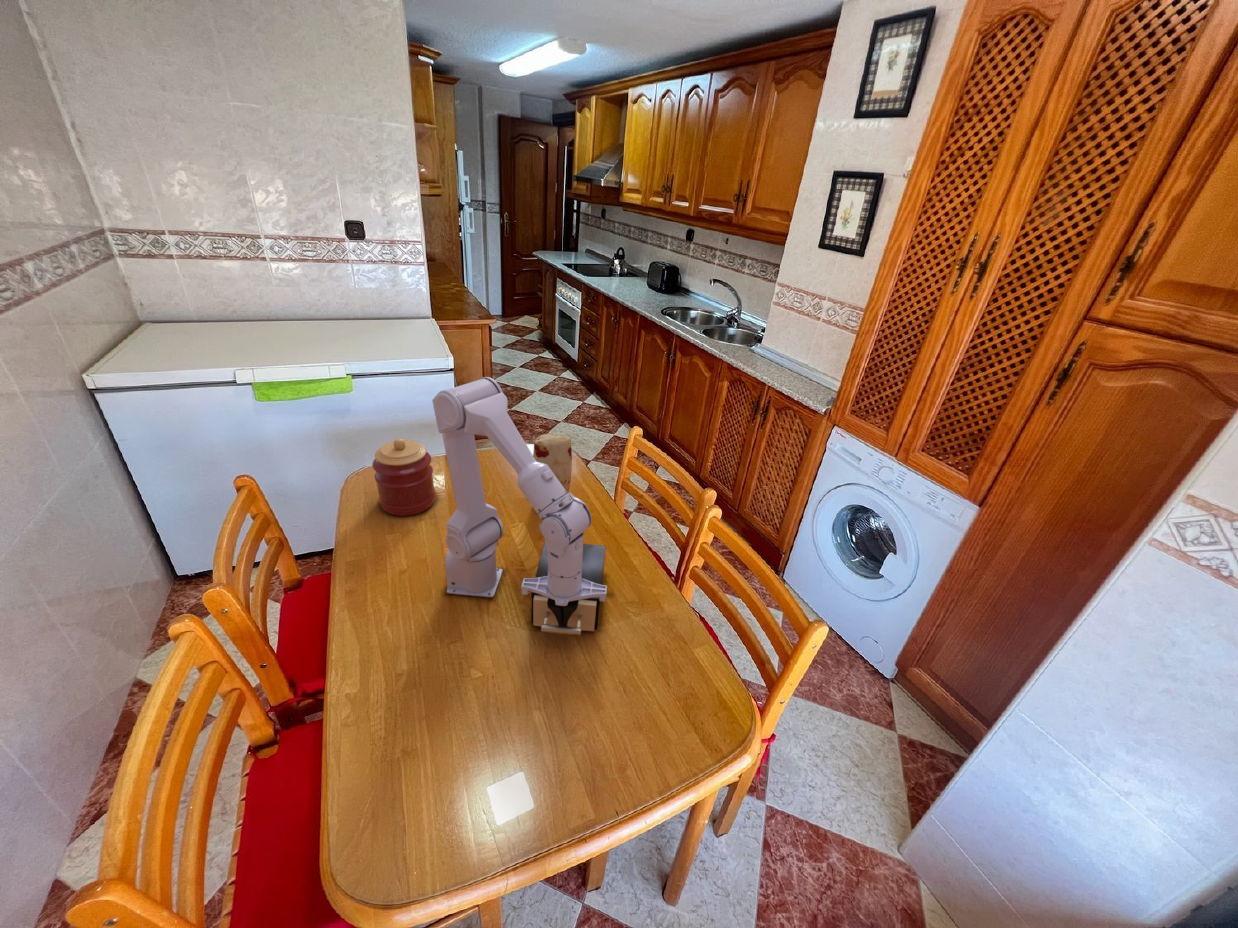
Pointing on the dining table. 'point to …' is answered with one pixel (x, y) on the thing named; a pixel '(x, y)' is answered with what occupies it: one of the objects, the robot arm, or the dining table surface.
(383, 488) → the kitchen canister
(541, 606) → the drawer
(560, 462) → the food model
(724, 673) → the dining table surface
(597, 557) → the black cabinet
